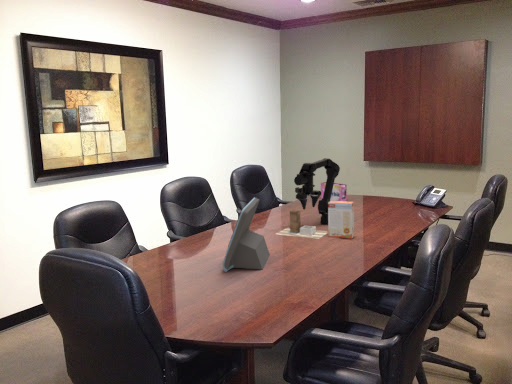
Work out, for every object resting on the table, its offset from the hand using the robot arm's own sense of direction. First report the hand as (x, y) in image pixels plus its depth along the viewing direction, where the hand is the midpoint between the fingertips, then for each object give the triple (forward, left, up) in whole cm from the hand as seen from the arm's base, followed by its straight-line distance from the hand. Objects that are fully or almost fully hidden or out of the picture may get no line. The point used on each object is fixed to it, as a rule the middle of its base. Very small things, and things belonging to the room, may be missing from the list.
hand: (308, 208), depth 299 cm
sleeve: (0, +15, -12) cm, 20 cm away
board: (+4, +13, -13) cm, 19 cm away
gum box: (-18, -99, -13) cm, 101 cm away
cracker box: (-19, +20, -13) cm, 31 cm away
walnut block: (+8, +11, -12) cm, 18 cm away
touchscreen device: (+29, +68, -13) cm, 75 cm away
